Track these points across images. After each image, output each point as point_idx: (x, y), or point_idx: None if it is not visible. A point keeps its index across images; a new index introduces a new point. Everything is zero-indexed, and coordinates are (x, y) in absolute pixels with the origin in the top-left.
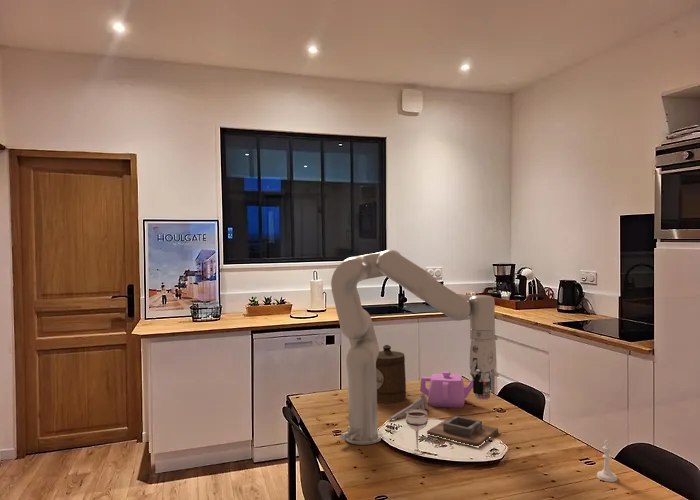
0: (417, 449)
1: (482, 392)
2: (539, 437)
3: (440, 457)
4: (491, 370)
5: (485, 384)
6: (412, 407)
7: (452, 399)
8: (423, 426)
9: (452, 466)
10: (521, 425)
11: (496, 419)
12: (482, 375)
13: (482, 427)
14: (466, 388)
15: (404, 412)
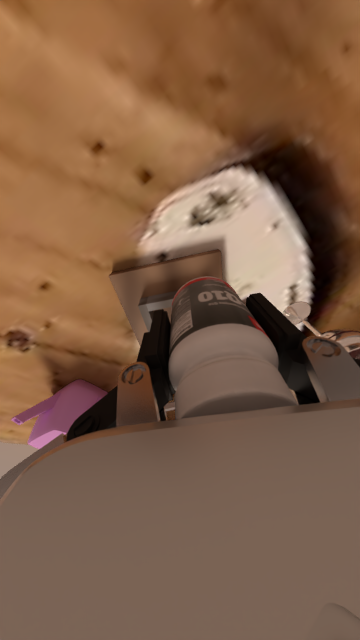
0: (300, 314)
1: (263, 297)
2: (33, 172)
3: (302, 272)
4: (86, 421)
5: (251, 319)
6: (167, 406)
7: (90, 397)
8: (347, 329)
9: (336, 227)
10: (27, 262)
11: (60, 317)
12: (325, 383)
13: (135, 300)
14: (46, 409)
15: None
